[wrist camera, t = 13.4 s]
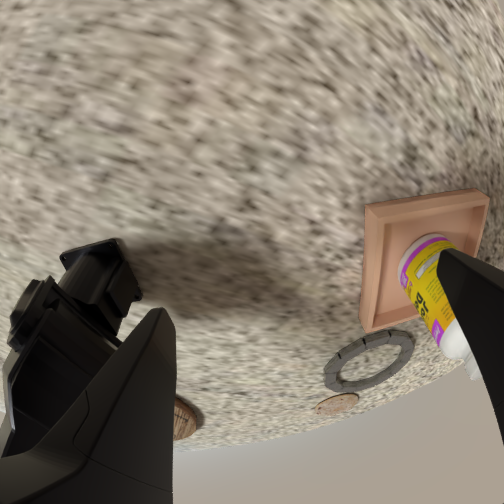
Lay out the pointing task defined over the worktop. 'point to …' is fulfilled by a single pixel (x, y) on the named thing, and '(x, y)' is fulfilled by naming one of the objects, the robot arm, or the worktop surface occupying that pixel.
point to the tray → (402, 237)
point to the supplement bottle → (434, 298)
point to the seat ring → (361, 346)
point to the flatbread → (336, 405)
